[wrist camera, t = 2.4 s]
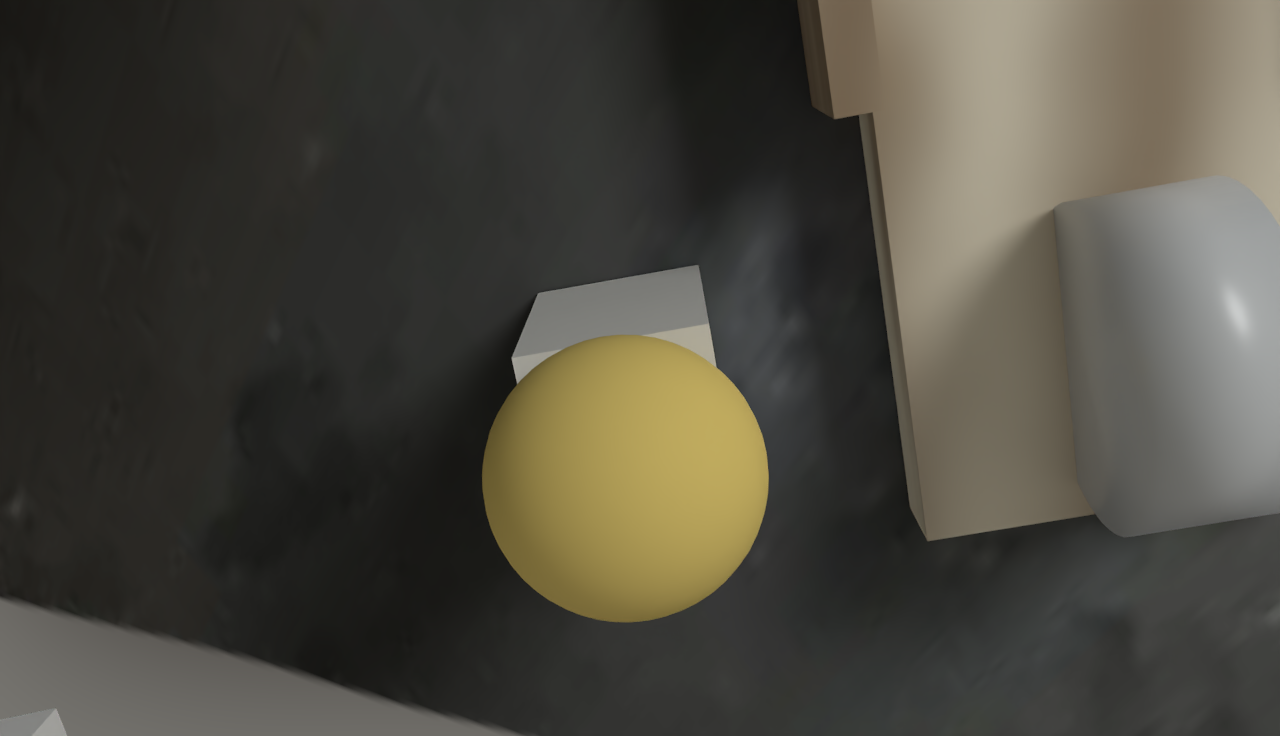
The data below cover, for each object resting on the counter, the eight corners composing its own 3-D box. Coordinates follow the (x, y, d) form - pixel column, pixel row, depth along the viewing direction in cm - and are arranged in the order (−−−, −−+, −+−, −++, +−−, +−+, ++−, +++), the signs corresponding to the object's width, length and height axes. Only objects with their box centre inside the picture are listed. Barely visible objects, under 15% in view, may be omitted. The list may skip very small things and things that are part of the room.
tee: (569, 443, 30) (551, 539, 24) (538, 293, 28) (511, 357, 23) (724, 417, 29) (741, 508, 24) (698, 264, 28) (709, 323, 23)
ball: (529, 565, 25) (499, 699, 20) (475, 330, 23) (429, 412, 18) (774, 525, 24) (804, 651, 20) (734, 284, 23) (756, 355, 18)
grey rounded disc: (1051, 464, 30) (1168, 598, 23) (1023, 180, 28) (1143, 233, 21) (1175, 444, 29) (1331, 572, 23) (1157, 156, 27) (1320, 202, 21)
